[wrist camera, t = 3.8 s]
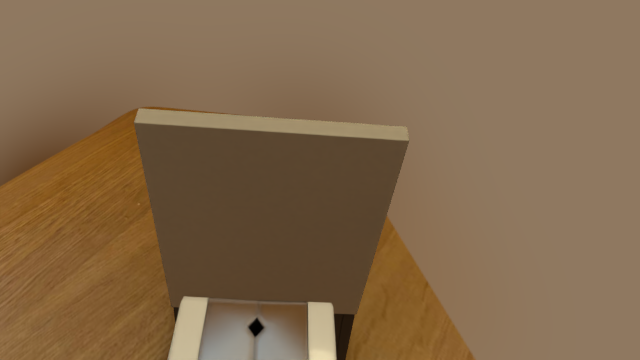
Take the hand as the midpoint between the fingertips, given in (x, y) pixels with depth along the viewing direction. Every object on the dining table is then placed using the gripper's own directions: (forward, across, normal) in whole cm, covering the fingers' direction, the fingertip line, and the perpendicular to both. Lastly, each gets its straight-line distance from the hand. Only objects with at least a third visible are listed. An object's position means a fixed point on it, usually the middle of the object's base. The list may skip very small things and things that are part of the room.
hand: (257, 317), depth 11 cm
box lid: (+16, 0, +12) cm, 21 cm away
